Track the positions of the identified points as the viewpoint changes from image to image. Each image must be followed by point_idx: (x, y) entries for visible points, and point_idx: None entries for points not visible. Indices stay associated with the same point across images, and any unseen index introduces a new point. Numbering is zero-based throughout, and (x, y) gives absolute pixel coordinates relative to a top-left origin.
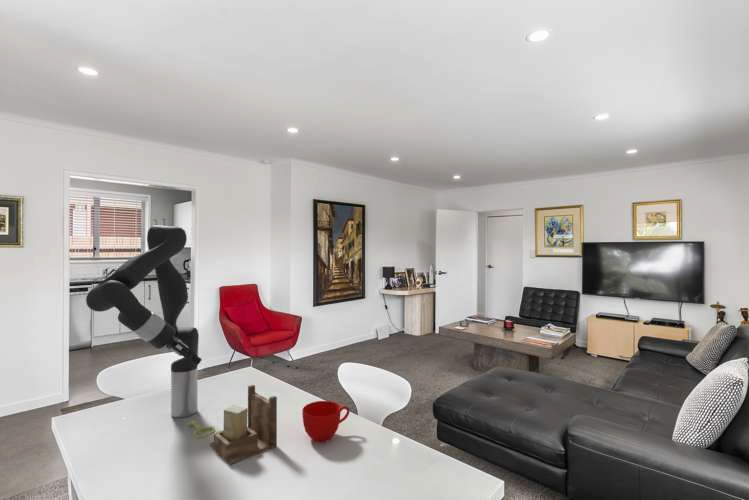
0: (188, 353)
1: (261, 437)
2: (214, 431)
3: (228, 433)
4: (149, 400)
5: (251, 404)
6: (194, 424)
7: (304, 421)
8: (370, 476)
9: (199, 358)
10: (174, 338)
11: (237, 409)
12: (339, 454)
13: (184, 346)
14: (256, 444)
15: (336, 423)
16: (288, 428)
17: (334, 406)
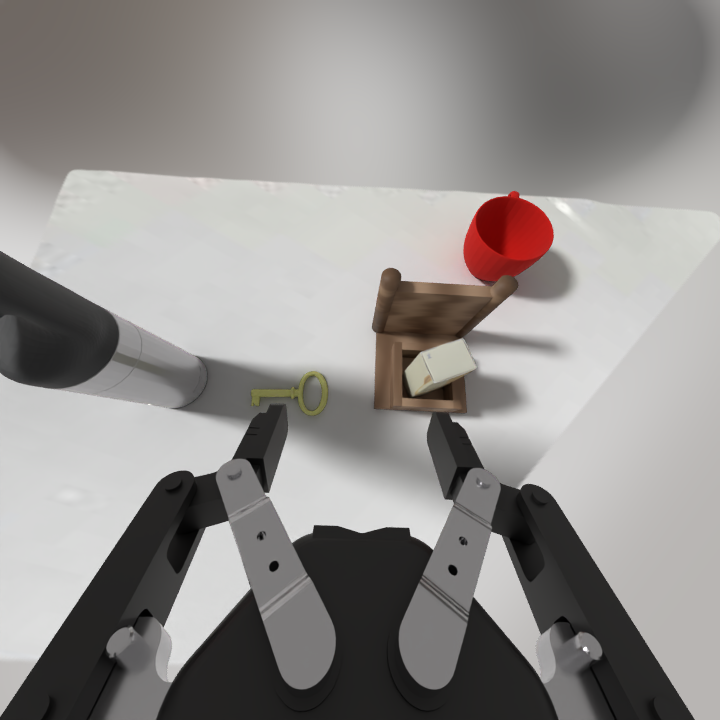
0: (504, 521)
1: (426, 333)
2: (322, 376)
3: (432, 389)
4: (20, 410)
5: (395, 305)
6: (270, 395)
7: (502, 270)
8: (623, 290)
9: (451, 424)
10: (326, 679)
11: (456, 359)
12: (547, 280)
13: (632, 630)
14: None
15: (534, 238)
16: (415, 281)
17: (502, 204)
